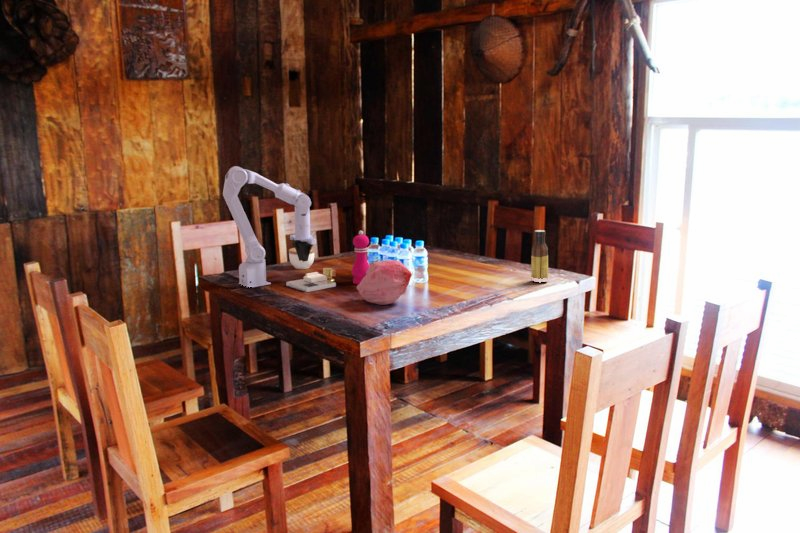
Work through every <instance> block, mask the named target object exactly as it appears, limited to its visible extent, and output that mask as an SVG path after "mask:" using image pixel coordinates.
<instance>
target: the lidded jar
mask: <svg viewBox="0 0 800 533" xmlns="http://www.w3.org/2000/svg"><path fill="white" fill-rule="evenodd" d="M315 251H316V250H315V248H313V247H312V248H311V250H310V253H309V258H308V261H304V262H303V261H302V260H301V261H299V258H298V255H297V252H296V249H295V247H291V248H289V249H288V257H289V261H290V264H291V266H293V267H294V269H296V270H307V269H310V267H311V266H312V265H313V263H314V260H315Z"/></svg>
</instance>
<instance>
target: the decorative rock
mask: <svg viewBox="0 0 800 533" xmlns="http://www.w3.org/2000/svg"><path fill="white" fill-rule="evenodd" d="M369 266H370V267H369V269H368V270H367V271H366V276H365V277H363V279H362V281H361V282H360V284H357V285H356V290H357V292H358V293H359V295H360V296H361V297H362V299H363V300H365V301H366V302H368V303H371V304H376V305H378V306H379V305H383V306H385V305H391V304H394V303H395V302H397V301H398V300H399V298H401V296H402V295H404V294H405V293H406V292H407V287H408V286H409V284H410V282H411V278H412V272H411V271H410V269H408V268H407V267H406V266H405V264H403V262H401V261H400V260H396V259H387V260H379V261H374V262H371V264H369Z"/></svg>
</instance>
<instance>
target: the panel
mask: <svg viewBox="0 0 800 533" xmlns="http://www.w3.org/2000/svg"><path fill="white" fill-rule="evenodd" d="M285 282H286V283H285V284H286V287H290V288H293V289H296V290H298V291H303V292H304V293H305V292H306V293H309V292H315V291H319V290H324V289H330V288H335V287H336V286H337V283H336V282H335V281H328V280H323V281H318V282H312V283H311V282H307V281H304V278H301V279H296V280H295V279H294V280H289V281H285Z"/></svg>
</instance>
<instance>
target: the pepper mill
mask: <svg viewBox="0 0 800 533" xmlns="http://www.w3.org/2000/svg"><path fill="white" fill-rule="evenodd" d="M352 244H353V246H354V252H355V259H354V263H353V265H352V268H351V275H352V276H353V278H352V283H353V284H354V285H359V284H360V282H361V281H362V279H363V277H365V276H366V271H367V270H368V269H369V267H370V264H369V261H368V258H367V253H368V252H369V251H368V249H369V246H368V245H369V244H370V239H369V237H368V236H367V235H365V234H364V231H363V230H359V231H358V234H357V235H355V236H354V237H353V239H352Z"/></svg>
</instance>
